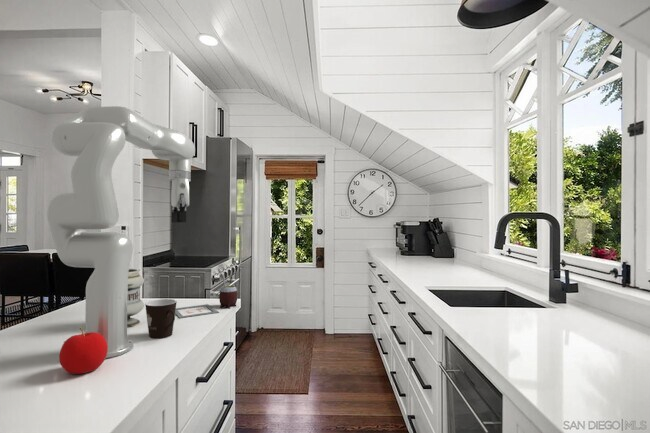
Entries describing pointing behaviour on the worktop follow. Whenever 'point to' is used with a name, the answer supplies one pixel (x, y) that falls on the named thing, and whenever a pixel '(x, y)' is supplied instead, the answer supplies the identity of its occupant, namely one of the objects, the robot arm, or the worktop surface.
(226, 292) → the mate gourd
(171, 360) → the worktop surface
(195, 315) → the gray square frame
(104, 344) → the fruit
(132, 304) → the apothecary jar
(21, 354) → the worktop surface
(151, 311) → the coffee mug
